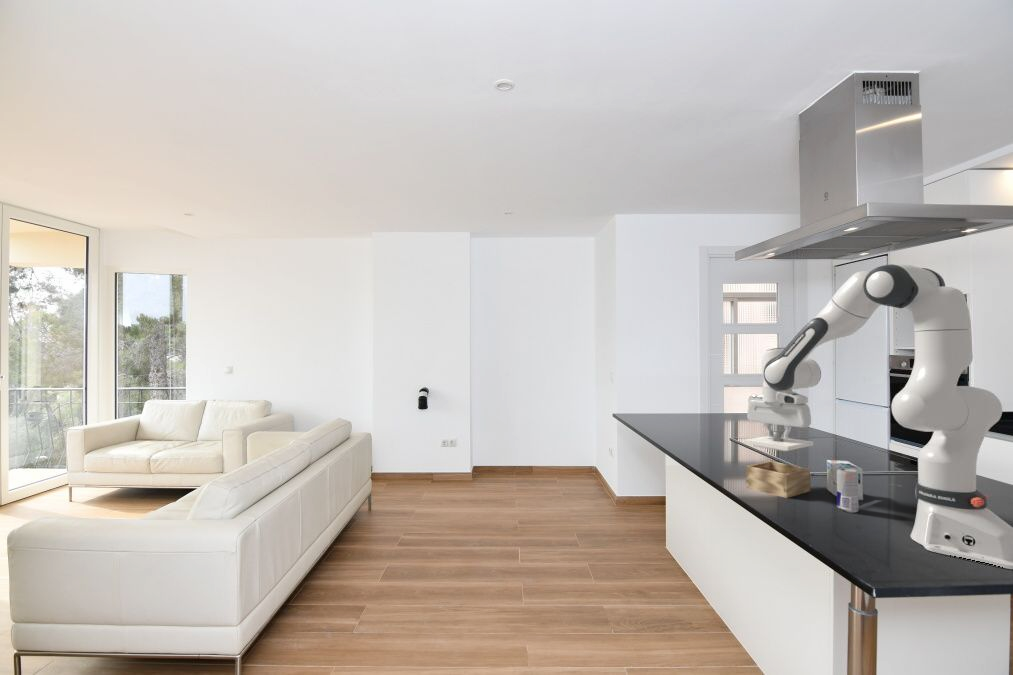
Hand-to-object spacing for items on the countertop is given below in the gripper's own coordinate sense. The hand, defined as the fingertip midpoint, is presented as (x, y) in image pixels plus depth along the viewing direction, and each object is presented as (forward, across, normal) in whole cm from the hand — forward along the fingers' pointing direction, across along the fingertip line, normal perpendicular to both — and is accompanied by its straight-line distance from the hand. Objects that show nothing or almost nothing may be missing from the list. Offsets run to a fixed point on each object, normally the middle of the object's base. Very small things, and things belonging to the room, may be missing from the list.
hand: (778, 438), depth 175 cm
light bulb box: (+18, +14, +12) cm, 26 cm away
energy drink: (+18, +21, -1) cm, 28 cm away
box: (+18, -1, 0) cm, 18 cm away
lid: (+3, 0, 0) cm, 3 cm away
